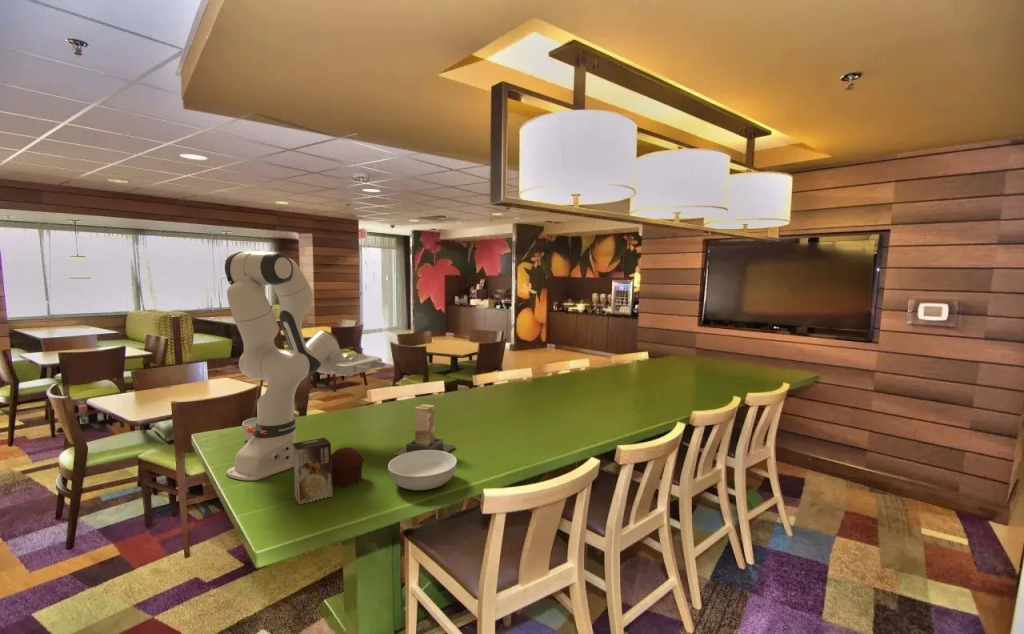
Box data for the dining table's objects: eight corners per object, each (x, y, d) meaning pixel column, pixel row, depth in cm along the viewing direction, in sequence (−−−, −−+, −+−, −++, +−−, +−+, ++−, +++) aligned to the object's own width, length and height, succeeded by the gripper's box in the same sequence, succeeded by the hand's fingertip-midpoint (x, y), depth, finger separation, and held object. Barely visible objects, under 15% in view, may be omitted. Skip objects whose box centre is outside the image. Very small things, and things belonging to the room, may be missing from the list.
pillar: (427, 453, 164) (427, 409, 163) (415, 451, 166) (415, 407, 165) (434, 448, 169) (434, 405, 168) (422, 446, 171) (422, 404, 170)
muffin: (365, 486, 140) (364, 454, 139) (326, 491, 136) (325, 459, 135) (363, 471, 151) (362, 441, 150) (326, 475, 147) (326, 445, 146)
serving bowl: (426, 464, 157) (426, 444, 157) (470, 481, 144) (470, 460, 143) (374, 484, 141) (373, 462, 141) (418, 506, 128) (418, 482, 127)
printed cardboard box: (327, 488, 138) (326, 436, 137) (333, 497, 133) (332, 442, 132) (294, 496, 133) (292, 442, 131) (298, 505, 127) (297, 449, 126)
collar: (432, 463, 157) (432, 452, 157) (393, 456, 163) (393, 445, 163) (455, 448, 172) (455, 437, 172) (418, 442, 178) (418, 432, 178)
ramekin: (287, 436, 183) (287, 419, 183) (255, 446, 172) (254, 428, 171) (268, 430, 190) (267, 414, 189) (235, 439, 179) (234, 422, 178)
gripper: (327, 360, 168) (357, 363, 163) (364, 352, 187) (392, 355, 182) (327, 377, 169) (358, 380, 164) (364, 368, 188) (392, 371, 183)
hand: (376, 367), depth 173 cm, fingers open, 8 cm apart
